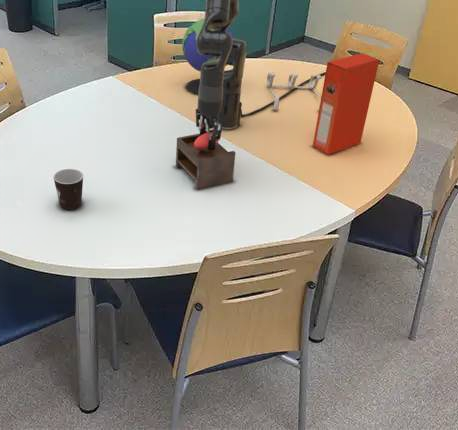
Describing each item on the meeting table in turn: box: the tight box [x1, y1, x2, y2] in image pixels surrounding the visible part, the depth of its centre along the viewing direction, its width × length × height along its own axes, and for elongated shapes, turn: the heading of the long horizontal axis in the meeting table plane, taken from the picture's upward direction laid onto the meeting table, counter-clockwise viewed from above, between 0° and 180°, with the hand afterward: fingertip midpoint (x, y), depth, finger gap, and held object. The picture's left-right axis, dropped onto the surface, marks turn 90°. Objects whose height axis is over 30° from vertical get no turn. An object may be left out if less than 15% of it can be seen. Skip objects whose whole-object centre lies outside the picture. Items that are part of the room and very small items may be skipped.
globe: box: [181, 18, 235, 96], centre depth 247 cm, size 22×22×30 cm
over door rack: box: [266, 72, 322, 111], centre depth 247 cm, size 22×29×10 cm
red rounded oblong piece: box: [194, 132, 220, 150], centre depth 188 cm, size 5×9×6 cm, turn 120°
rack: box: [175, 132, 236, 191], centre depth 192 cm, size 13×16×11 cm
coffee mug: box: [53, 168, 84, 212], centre depth 173 cm, size 12×9×10 cm
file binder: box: [312, 53, 380, 155], centre depth 207 cm, size 8×17×32 cm, turn 125°
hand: (206, 145), depth 189 cm, fingers closed on red rounded oblong piece, 5 cm apart
